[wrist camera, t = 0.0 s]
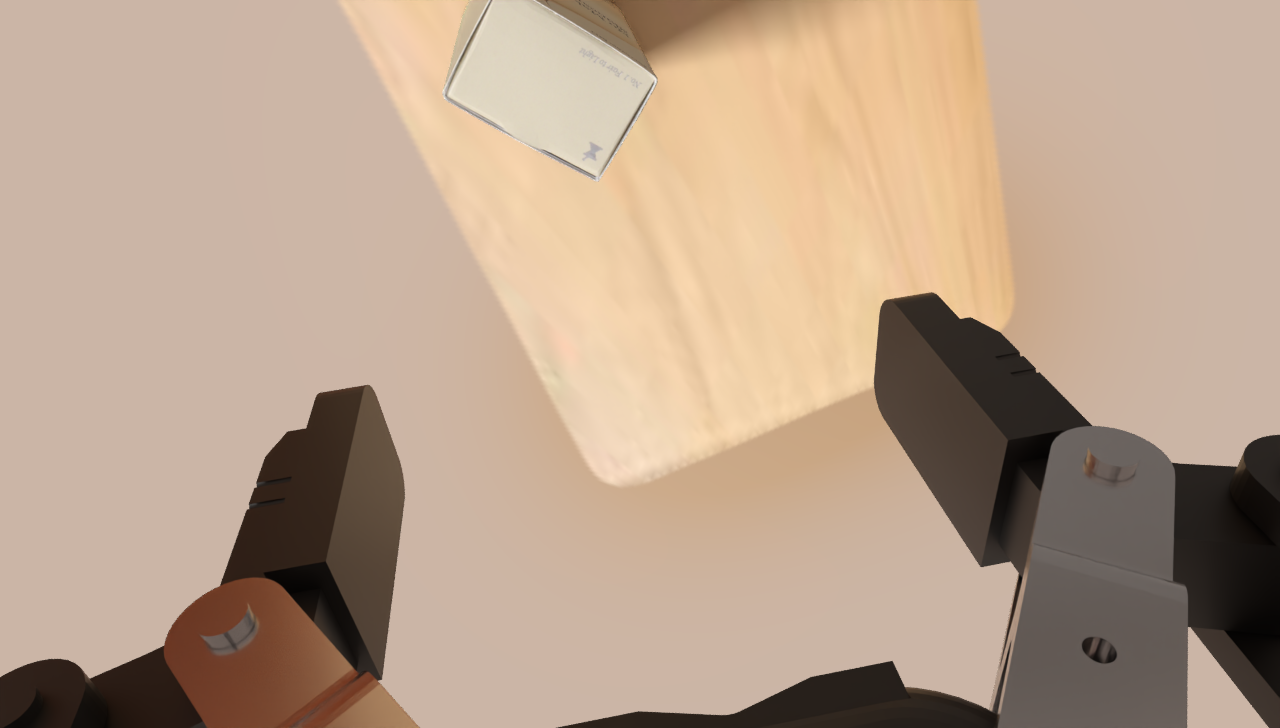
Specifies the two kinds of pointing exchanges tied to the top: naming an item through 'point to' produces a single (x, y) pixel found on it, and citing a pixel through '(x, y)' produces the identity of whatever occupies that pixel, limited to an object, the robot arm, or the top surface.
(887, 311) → the robot arm
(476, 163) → the top surface
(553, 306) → the top surface
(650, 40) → the top surface
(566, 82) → the skincare box
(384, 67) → the top surface
